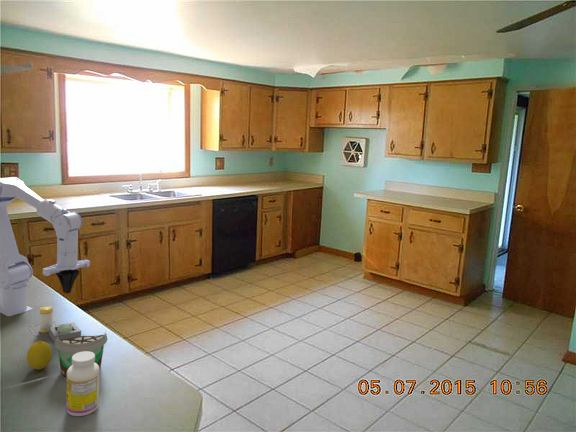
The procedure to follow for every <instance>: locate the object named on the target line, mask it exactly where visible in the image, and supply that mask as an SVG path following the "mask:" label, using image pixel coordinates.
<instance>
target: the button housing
mask: <svg viewBox="0 0 576 432" xmlns="http://www.w3.org/2000/svg"><path fill="white" fill-rule="evenodd" d="M61 325H71V326H72V331H69V332H64V333H59V334H58V332H57V328H58V327H59V326H61ZM48 335H49V337H50V339H51V340H52V341H53V343H54V344H55V341H56V339H57V337H58V339H59V340H62V339H70V338H75V337H79V336H82V330H81V329H80V328H79V326H78V325H77V324H76V323H75V322H74V321H73V322H67V323H63V324H57V325H53V326H51V327H49V333H48Z"/></svg>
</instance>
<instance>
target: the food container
mask: <svg viewBox="0 0 576 432" xmlns="http://www.w3.org/2000/svg"><path fill="white" fill-rule="evenodd" d="M107 342H108V335H107V333H104V334H100V335H99V334H98V335H81V336H79V337H75V338H70V339H62V340H59V339H58V337H57V339H56V341H55V343H54V346H55V348H56V349H57V350H58V351H57V352H58V359H59V366H60V368H59V369H60V374H61V376H62V377H63V378H65V379H67V370H68V369H69V367H70V366H72V356H73V355H74V354H76V353H78V352H83V351H90V352H93V353H94V354H95V361H94V362H95V363H96V364H98V366H99V369H100V370H101V368H102V363H103V362H102V359H103V356H104V355H103V353H104V348H105V347H104V346H105V344H106V343H107ZM100 370H99V372H100Z"/></svg>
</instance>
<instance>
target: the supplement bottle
mask: <svg viewBox="0 0 576 432" xmlns="http://www.w3.org/2000/svg"><path fill="white" fill-rule="evenodd" d="M94 361H95V354H94V353H93V352H90V351H83V352H78V353H76V354H74V355H73V356H72V366H70V367H69V369H68V370H67V378H66V392H65V393H66V394H65V395H66V398H65V399H66V400H65V401H66V402H65V403H66V404H65V407H66V408H65V409H66V412H67V413H68V415H70V416H73V417H84V416H88V415H91V414H92V413H93V412H95V411H96V410H97V409H98V407H99V405H100V403H99V401H100V400H99V399H100V371H99V370H101V368H100V369H99V366H98V364H96V363H95V362H94Z"/></svg>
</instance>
